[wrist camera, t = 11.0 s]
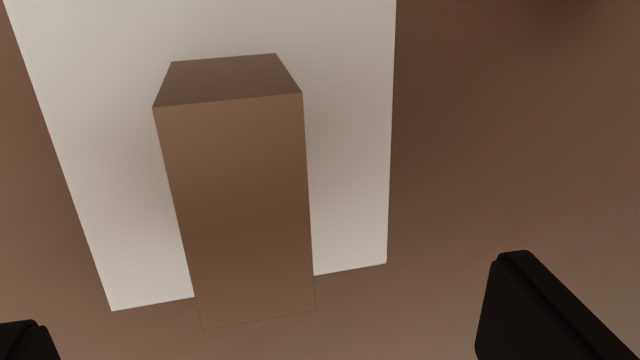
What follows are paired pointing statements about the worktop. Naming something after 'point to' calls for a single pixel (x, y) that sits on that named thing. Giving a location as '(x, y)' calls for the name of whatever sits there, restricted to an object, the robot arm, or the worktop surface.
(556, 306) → the robot arm
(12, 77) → the worktop surface
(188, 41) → the lid
